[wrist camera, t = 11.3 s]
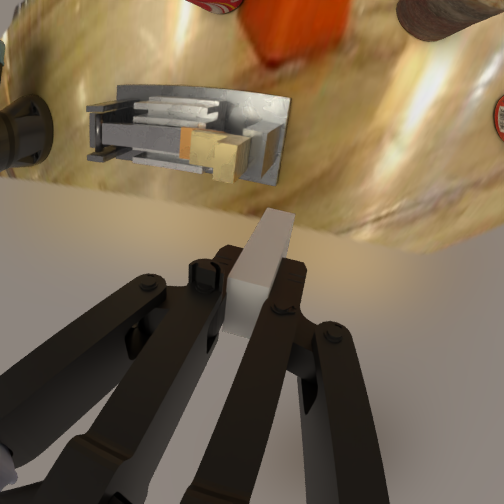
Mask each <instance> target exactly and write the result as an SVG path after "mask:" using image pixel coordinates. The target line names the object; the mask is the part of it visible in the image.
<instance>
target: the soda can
mask: <svg viewBox="0 0 504 504" xmlns="http://www.w3.org/2000/svg"><path fill="white" fill-rule="evenodd" d="M495 125H496V129H497V132H498V134H499V136H500V137H501V139H502V140H503V141H504V96H503V97H502V98H501V99H500V100H499V101H498V103H497V105H496V109H495Z"/></svg>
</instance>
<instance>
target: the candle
mask: <svg viewBox="0 0 504 504" xmlns="http://www.w3.org/2000/svg"><path fill="white" fill-rule="evenodd" d="M396 12H397V16H398V19H399V22H400V23H401V25H402V26H403V27H404V28H405V29H406V30H407V31H408V32H410V33H411V34H412V35H414V36H415V37H417V38H418V39H422V40H425V41H438V40H441V39H444V38H446V37H448V36H450V35H452V34H454V33H456V32H458V31H460V30H462V29H465V28H466V27H469V26H471V25H473V24H475V23H478V22H480V21H483V20H486V19H488V18H490V17H492V16H495V15H498V14H500V13H503V12H504V0H399V2H398V3H397V8H396Z"/></svg>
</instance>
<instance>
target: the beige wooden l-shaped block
mask: <svg viewBox="0 0 504 504" xmlns="http://www.w3.org/2000/svg"><path fill="white" fill-rule="evenodd" d="M250 142H251V137H246V136H240V135H233V134H227V133H220V132H213V131H205V130H197V129H196V130H193V131H192V132H191V146H190V160H189V164H193V165H199V166H205V167H210V168H213V177H212V180H216V181H221V182H226V183H231V184H233V183H234V182H235V181H236V180H237V179H238V178H240V177H241V176H242V175H243V174H244V173H245V172H246V171H247V165H248V157H249V150H250Z"/></svg>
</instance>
